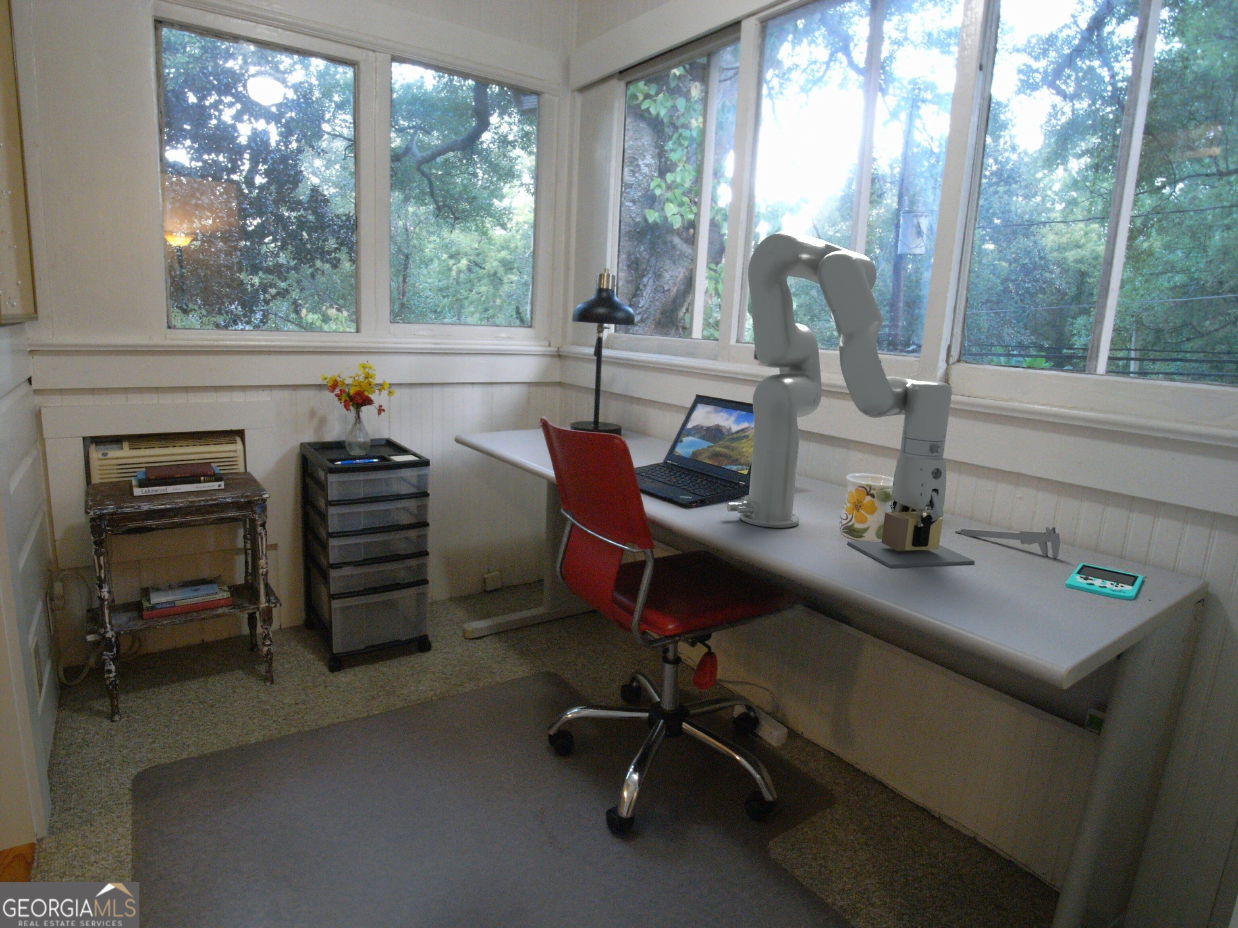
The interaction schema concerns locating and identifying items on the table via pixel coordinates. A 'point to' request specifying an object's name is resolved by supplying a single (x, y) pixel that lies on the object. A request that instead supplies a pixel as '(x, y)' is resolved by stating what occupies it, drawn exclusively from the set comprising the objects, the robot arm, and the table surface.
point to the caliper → (1022, 537)
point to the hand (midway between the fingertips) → (910, 540)
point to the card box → (907, 531)
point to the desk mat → (909, 555)
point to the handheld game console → (1105, 581)
